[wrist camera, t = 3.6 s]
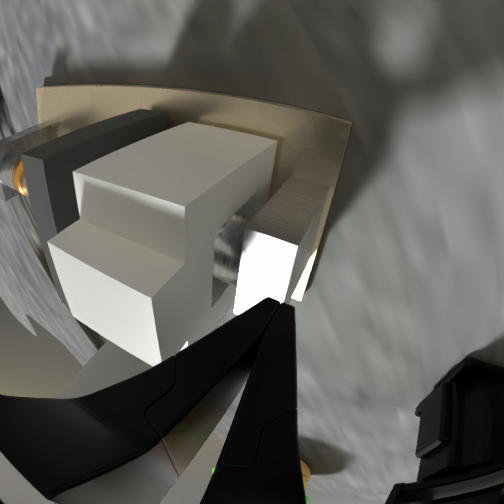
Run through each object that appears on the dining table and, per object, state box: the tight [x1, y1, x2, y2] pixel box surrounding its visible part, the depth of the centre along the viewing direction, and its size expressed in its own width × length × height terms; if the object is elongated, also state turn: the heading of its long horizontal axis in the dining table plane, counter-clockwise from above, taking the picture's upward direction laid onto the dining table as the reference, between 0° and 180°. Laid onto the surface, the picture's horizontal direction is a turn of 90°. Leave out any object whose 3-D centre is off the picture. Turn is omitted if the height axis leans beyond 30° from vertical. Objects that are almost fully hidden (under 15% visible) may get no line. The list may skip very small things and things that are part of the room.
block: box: [21, 109, 167, 307], centre depth 12 cm, size 2×7×6 cm, turn 173°
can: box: [56, 340, 153, 399], centre depth 24 cm, size 8×8×12 cm
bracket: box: [47, 122, 277, 366], centre depth 11 cm, size 4×6×8 cm, turn 173°
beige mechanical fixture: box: [0, 84, 352, 315], centre depth 14 cm, size 20×9×5 cm, turn 83°
